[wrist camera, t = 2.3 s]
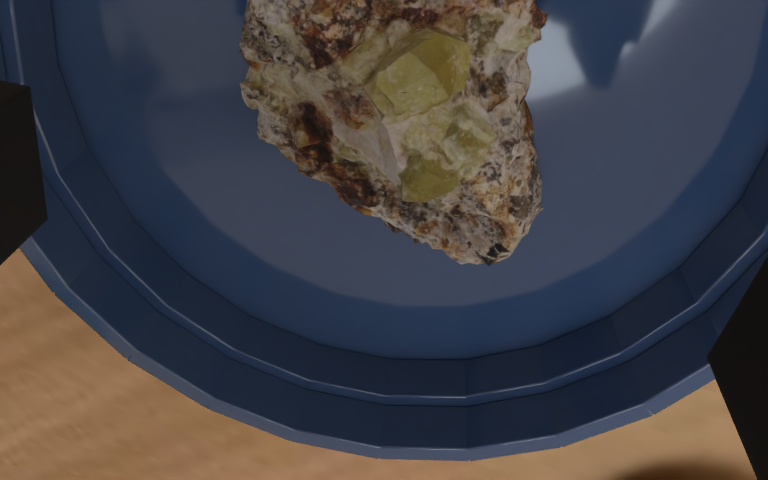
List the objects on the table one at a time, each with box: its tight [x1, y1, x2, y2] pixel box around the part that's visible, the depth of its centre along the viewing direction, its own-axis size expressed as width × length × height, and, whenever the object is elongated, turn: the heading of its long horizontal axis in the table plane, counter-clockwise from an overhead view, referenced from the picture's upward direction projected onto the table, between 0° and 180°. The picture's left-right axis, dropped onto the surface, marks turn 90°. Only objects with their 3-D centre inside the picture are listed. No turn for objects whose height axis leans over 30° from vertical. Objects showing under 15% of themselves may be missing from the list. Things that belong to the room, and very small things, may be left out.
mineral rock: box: [239, 0, 548, 266], centre depth 17 cm, size 11×4×8 cm
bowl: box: [0, 0, 768, 461], centre depth 17 cm, size 22×22×4 cm
